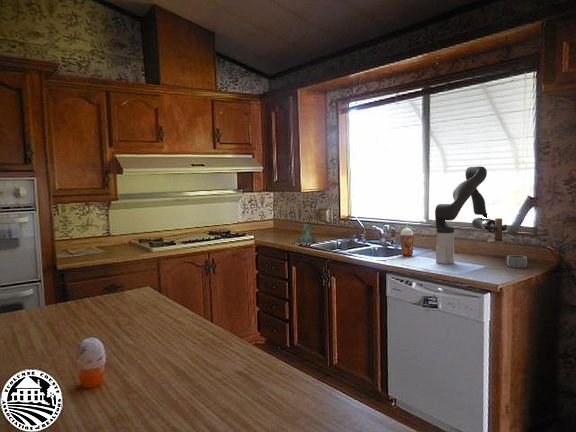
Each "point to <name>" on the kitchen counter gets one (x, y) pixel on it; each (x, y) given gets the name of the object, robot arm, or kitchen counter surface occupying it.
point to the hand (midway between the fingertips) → (500, 228)
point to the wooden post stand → (498, 233)
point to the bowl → (516, 261)
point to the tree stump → (306, 235)
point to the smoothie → (407, 241)
